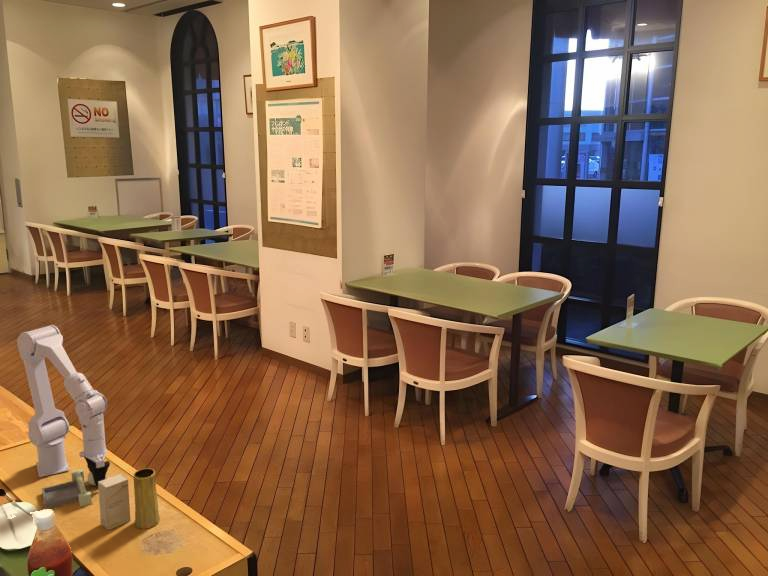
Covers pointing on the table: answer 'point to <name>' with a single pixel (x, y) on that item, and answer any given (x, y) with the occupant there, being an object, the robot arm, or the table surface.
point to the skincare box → (114, 501)
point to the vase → (145, 499)
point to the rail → (81, 488)
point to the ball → (91, 479)
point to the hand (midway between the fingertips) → (97, 479)
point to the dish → (61, 494)
